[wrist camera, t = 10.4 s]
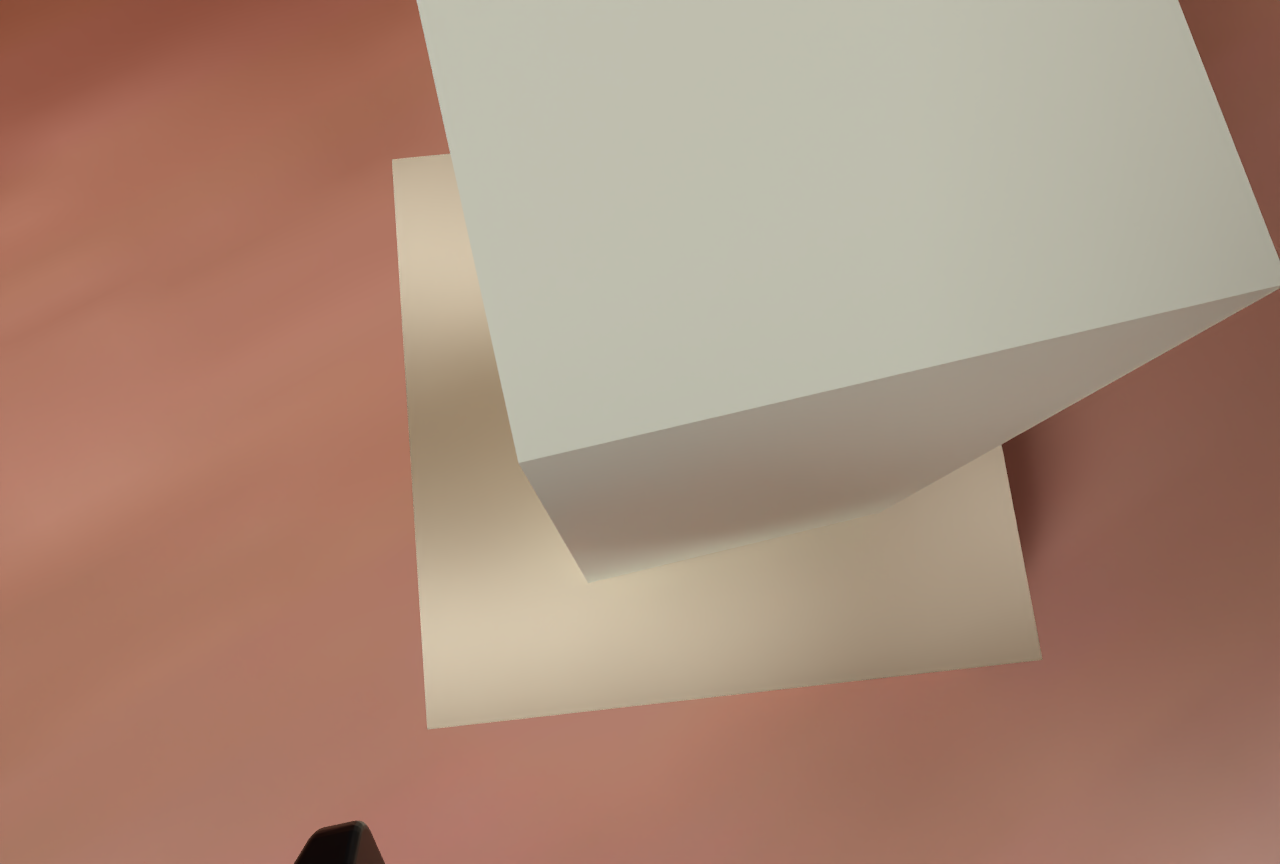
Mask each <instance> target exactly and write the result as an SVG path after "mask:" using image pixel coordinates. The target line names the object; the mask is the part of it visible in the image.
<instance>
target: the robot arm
mask: <svg viewBox="0 0 1280 864" xmlns="http://www.w3.org/2000/svg"><path fill="white" fill-rule="evenodd" d="M294 864H385V863H384V860H383V858H382V856H381V854H380V851H379V849H378V847H377V845H376V842H375V840H374V838H373V836H372V833H371V831H370V829H369V828H368V826H367V825H366V824H365V823H364V822H362V821H352V822H347V823H342V824H338V825H333V826H328V827H324V828H321V829H319V830H317V831H316V832H315V833H314V834H313V835H312V836H311V837H310V838H309V840H308V841H307V843H306V845H305V846H304V848H303V850H302V851H301V853H300V855H299V856H298V858H297V860H296V861H295V863H294Z"/></svg>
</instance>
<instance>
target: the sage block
mask: <svg viewBox="0 0 1280 864" xmlns="http://www.w3.org/2000/svg"><path fill="white" fill-rule="evenodd" d="M417 4H418V8H419V13H420V18H421V22H422V27H423V31H424V36H425V40H426V45H427V49H428V54H429V59H430V63H431V68H432V72H433V77H434V81H435V86H436V90H437V95H438V99H439V104H440V109H441V113H442V118H443V122H444V127H445V131H446V136H447V140H448V145H449V150H450V154H451V159H452V163H453V168H454V172H455V177H456V181H457V186H458V190H459V195H460V200H461V204H462V209H463V213H464V218H465V222H466V227H467V231H468V236H469V241H470V245H471V250H472V254H473V259H474V263H475V268H476V272H477V277H478V281H479V286H480V291H481V295H482V300H483V304H484V309H485V313H486V318H487V322H488V327H489V332H490V336H491V341H492V345H493V350H494V354H495V359H496V363H497V368H498V372H499V377H500V382H501V386H502V391H503V395H504V400H505V404H506V409H507V413H508V418H509V423H510V427H511V432H512V436H513V441H514V445H515V450H516V454H517V459H518V463H519V465H520V467H521V468H522V470H523V472H524V474H525V475H526V477H527V479H528V480H529V482H530V484H531V486H532V487H533V489H534V491H535V492H536V494H537V496H538V498H539V499H540V501H541V503H542V504H543V506H544V508H545V510H546V511H547V513H548V515H549V517H550V518H551V520H552V522H553V523H554V525H555V527H556V529H557V530H558V532H559V534H560V535H561V537H562V539H563V541H564V542H565V544H566V546H567V547H568V549H569V551H570V553H571V554H572V556H573V558H574V560H575V561H576V563H577V565H578V566H579V568H580V570H581V572H582V573H583V575H584V577H585V578H586V580H587V582H588V583H591V582H595V581H599V580H604V579H608V578H612V577H616V576H620V575H624V574H628V573H633V572H637V571H641V570H645V569H649V568H653V567H657V566H662V565H666V564H670V563H674V562H678V561H682V560H686V559H691V558H695V557H699V556H703V555H707V554H711V553H716V552H720V551H724V550H728V549H732V548H736V547H740V546H745V545H749V544H753V543H757V542H761V541H765V540H769V539H774V538H778V537H782V536H786V535H790V534H794V533H798V532H803V531H807V530H811V529H815V528H819V527H823V526H827V525H832V524H836V523H840V522H844V521H848V520H852V519H856V518H861V517H865V516H869V515H873V514H877V513H880V512H882V511H884V510H886V509H887V508H889V507H891V506H893V505H894V504H896V503H898V502H900V501H902V500H903V499H905V498H907V497H909V496H910V495H912V494H914V493H916V492H918V491H919V490H921V489H923V488H925V487H927V486H928V485H930V484H932V483H934V482H935V481H937V480H939V479H941V478H943V477H944V476H946V475H948V474H950V473H951V472H953V471H955V470H957V469H959V468H960V467H962V466H964V465H966V464H968V463H969V462H971V461H973V460H975V459H976V458H978V457H980V456H982V455H984V454H985V453H987V452H989V451H991V450H992V449H994V448H996V447H998V446H1000V445H1001V444H1003V443H1005V442H1007V441H1008V440H1010V439H1012V438H1014V437H1016V436H1017V435H1019V434H1021V433H1023V432H1025V431H1026V430H1028V429H1030V428H1032V427H1033V426H1035V425H1037V424H1039V423H1041V422H1042V421H1044V420H1046V419H1048V418H1049V417H1051V416H1053V415H1055V414H1057V413H1058V412H1060V411H1062V410H1064V409H1066V408H1067V407H1069V406H1071V405H1073V404H1074V403H1076V402H1078V401H1080V400H1082V399H1083V398H1085V397H1087V396H1089V395H1090V394H1092V393H1094V392H1096V391H1098V390H1099V389H1101V388H1103V387H1105V386H1106V385H1108V384H1110V383H1112V382H1114V381H1115V380H1117V379H1119V378H1121V377H1123V376H1124V375H1126V374H1128V373H1130V372H1131V371H1133V370H1135V369H1137V368H1139V367H1140V366H1142V365H1144V364H1146V363H1147V362H1149V361H1151V360H1153V359H1155V358H1156V357H1158V356H1160V355H1162V354H1164V353H1165V352H1167V351H1169V350H1171V349H1172V348H1174V347H1176V346H1178V345H1180V344H1181V343H1183V342H1185V341H1187V340H1188V339H1190V338H1192V337H1194V336H1196V335H1197V334H1199V333H1201V332H1203V331H1205V330H1206V329H1208V328H1210V327H1212V326H1213V325H1215V324H1217V323H1219V322H1221V321H1222V320H1224V319H1226V318H1228V317H1229V316H1231V315H1233V314H1235V313H1237V312H1238V311H1240V310H1242V309H1244V308H1245V307H1247V306H1249V305H1251V304H1253V303H1254V302H1256V301H1258V300H1260V299H1262V298H1263V297H1265V296H1267V295H1269V294H1270V293H1272V292H1274V291H1276V290H1278V289H1279V288H1280V260H1279V258H1278V255H1277V253H1276V250H1275V247H1274V245H1273V242H1272V240H1271V237H1270V235H1269V232H1268V230H1267V227H1266V224H1265V222H1264V219H1263V217H1262V214H1261V212H1260V209H1259V206H1258V204H1257V201H1256V199H1255V196H1254V194H1253V191H1252V189H1251V186H1250V183H1249V181H1248V178H1247V176H1246V173H1245V171H1244V168H1243V165H1242V163H1241V160H1240V158H1239V155H1238V153H1237V150H1236V148H1235V145H1234V142H1233V140H1232V137H1231V135H1230V132H1229V130H1228V127H1227V124H1226V122H1225V119H1224V117H1223V114H1222V112H1221V109H1220V107H1219V104H1218V101H1217V99H1216V96H1215V94H1214V91H1213V89H1212V86H1211V83H1210V81H1209V78H1208V76H1207V73H1206V71H1205V68H1204V66H1203V63H1202V60H1201V58H1200V55H1199V53H1198V50H1197V48H1196V45H1195V42H1194V40H1193V37H1192V35H1191V32H1190V30H1189V27H1188V25H1187V22H1186V19H1185V17H1184V14H1183V12H1182V9H1181V7H1180V4H1179V1H1178V0H417Z"/></svg>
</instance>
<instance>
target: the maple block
mask: <svg viewBox="0 0 1280 864" xmlns="http://www.w3.org/2000/svg"><path fill="white" fill-rule="evenodd" d="M392 167H393V183H394V200H395V216H396V232H397V248H398V264H399V280H400V296H401V313H402V329H403V345H404V361H405V377H406V393H407V409H408V425H409V442H410V458H411V474H412V490H413V506H414V522H415V538H416V554H417V571H418V587H419V603H420V619H421V635H422V651H423V667H424V683H425V700H426V716H427V729H435V728H444V727H453V726H462V725H471V724H479V723H488V722H497V721H506V720H515V719H524V718H533V717H541V716H550V715H559V714H568V713H577V712H586V711H594V710H603V709H612V708H621V707H630V706H639V705H647V704H656V703H665V702H674V701H683V700H692V699H701V698H709V697H718V696H727V695H736V694H745V693H754V692H762V691H771V690H780V689H789V688H798V687H807V686H815V685H824V684H833V683H842V682H851V681H860V680H869V679H877V678H886V677H895V676H904V675H913V674H922V673H930V672H939V671H948V670H957V669H966V668H975V667H984V666H992V665H1001V664H1010V663H1019V662H1028V661H1037V660H1042V655H1041V649H1040V644H1039V639H1038V634H1037V628H1036V623H1035V618H1034V613H1033V607H1032V602H1031V597H1030V592H1029V586H1028V581H1027V576H1026V571H1025V565H1024V560H1023V555H1022V550H1021V544H1020V539H1019V534H1018V528H1017V523H1016V518H1015V513H1014V507H1013V502H1012V497H1011V492H1010V486H1009V481H1008V476H1007V471H1006V465H1005V460H1004V455H1003V450H1002V444H1001V445H1000V446H998V447H996V448H994V449H992V450H991V451H989V452H987V453H985V454H984V455H982V456H980V457H978V458H976V459H975V460H973V461H971V462H969V463H968V464H966V465H964V466H962V467H960V468H959V469H957V470H955V471H953V472H951V473H950V474H948V475H946V476H944V477H943V478H941V479H939V480H937V481H935V482H934V483H932V484H930V485H928V486H927V487H925V488H923V489H921V490H919V491H918V492H916V493H914V494H912V495H910V496H909V497H907V498H905V499H903V500H902V501H900V502H898V503H896V504H894V505H893V506H891V507H889V508H887V509H886V510H884V511H882V512H880V513H877V514H873V515H869V516H865V517H861V518H856V519H852V520H848V521H844V522H840V523H836V524H832V525H827V526H823V527H819V528H815V529H811V530H807V531H803V532H798V533H794V534H790V535H786V536H782V537H778V538H774V539H769V540H765V541H761V542H757V543H753V544H749V545H745V546H740V547H736V548H732V549H728V550H724V551H720V552H716V553H711V554H707V555H703V556H699V557H695V558H691V559H686V560H682V561H678V562H674V563H670V564H666V565H662V566H657V567H653V568H649V569H645V570H641V571H637V572H633V573H628V574H624V575H620V576H616V577H612V578H608V579H604V580H599V581H595V582H591V583H588V582H587V580H586V578H585V577H584V575H583V573H582V572H581V570H580V568H579V566H578V565H577V563H576V561H575V560H574V558H573V556H572V554H571V553H570V551H569V549H568V547H567V546H566V544H565V542H564V541H563V539H562V537H561V535H560V534H559V532H558V530H557V529H556V527H555V525H554V523H553V522H552V520H551V518H550V517H549V515H548V513H547V511H546V510H545V508H544V506H543V504H542V503H541V501H540V499H539V498H538V496H537V494H536V492H535V491H534V489H533V487H532V486H531V484H530V482H529V480H528V479H527V477H526V475H525V474H524V472H523V470H522V468H521V467H520V465H519V463H518V459H517V454H516V450H515V445H514V441H513V436H512V432H511V427H510V423H509V418H508V413H507V409H506V404H505V400H504V395H503V391H502V386H501V382H500V377H499V372H498V368H497V363H496V359H495V354H494V350H493V345H492V341H491V336H490V332H489V327H488V322H487V318H486V313H485V309H484V304H483V300H482V295H481V291H480V286H479V281H478V277H477V272H476V268H475V263H474V259H473V254H472V250H471V245H470V241H469V236H468V231H467V227H466V222H465V218H464V213H463V209H462V204H461V200H460V195H459V190H458V186H457V181H456V177H455V172H454V168H453V163H452V159H451V154H442V155H432V156H422V157H412V158H402V159H392Z"/></svg>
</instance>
